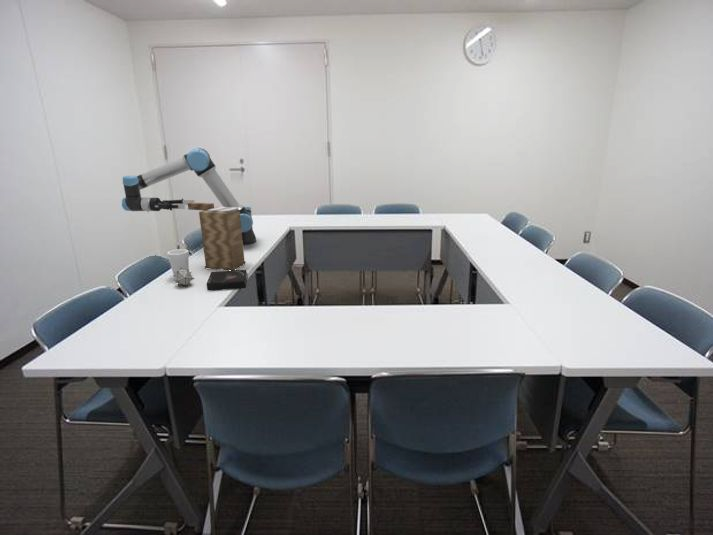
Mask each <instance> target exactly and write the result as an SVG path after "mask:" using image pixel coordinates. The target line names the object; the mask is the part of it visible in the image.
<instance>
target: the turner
mask: <svg viewBox="0 0 713 535" xmlns="http://www.w3.org/2000/svg"><path fill="white" fill-rule="evenodd" d="M187 210H191V211H204V210H207V212H218V213H230V212H233V211H236V210H239V208H237V207H223V206H215V205H214V203H212V202H211V203H210V202H207V203H206V202H195V203H193V202H191V203H188V205H187Z"/></svg>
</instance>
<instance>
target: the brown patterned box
mask: <svg viewBox="0 0 713 535" xmlns="http://www.w3.org/2000/svg"><path fill="white" fill-rule="evenodd" d="M198 216H199V221H200V223H199V224H200V230H201V231H200V232H201V239H202V240H201V241H202V246H203V248H202V249H203V255H204V264H205V265H204V269H206V268H211V269H210V270H218V269H223V270H222V271H229V270H235V269H236V270H238V269H240V268H241V267H242V266H244V265H245V263H247V262H246V261H245V253H244V245H243V240H242V229H241V218H240V209H239V210H236V211H233V212H230V213H218V212H207V210H199V212H198ZM243 264H244V265H243ZM240 266H241V267H240ZM237 268H238V269H237Z"/></svg>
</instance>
